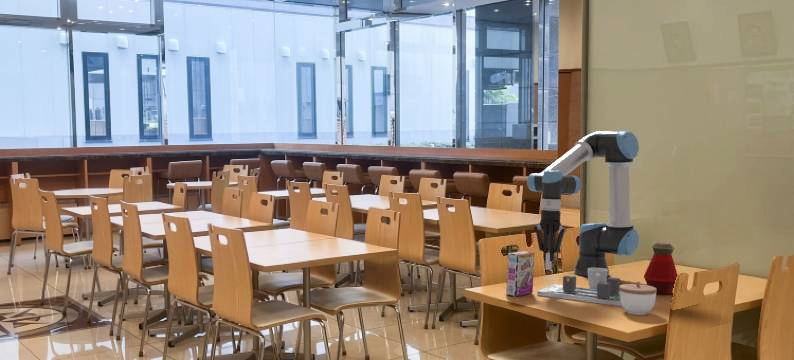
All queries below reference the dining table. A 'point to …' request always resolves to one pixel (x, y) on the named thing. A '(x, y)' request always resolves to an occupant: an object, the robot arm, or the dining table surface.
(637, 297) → the lidded bowl
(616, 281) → the block
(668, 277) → the bottle
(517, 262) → the candy bar box
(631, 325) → the dining table surface
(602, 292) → the block
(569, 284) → the block
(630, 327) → the dining table surface
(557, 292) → the panel
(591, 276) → the cup
